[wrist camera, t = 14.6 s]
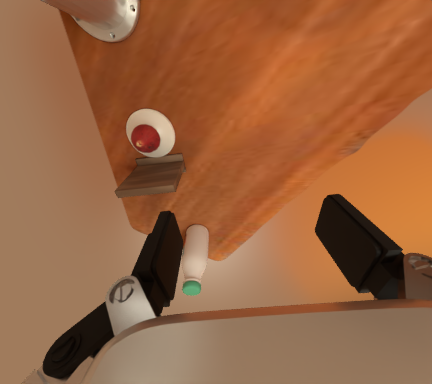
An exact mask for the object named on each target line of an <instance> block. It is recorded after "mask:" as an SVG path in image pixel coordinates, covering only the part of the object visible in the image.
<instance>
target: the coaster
mask: <svg viewBox="0 0 432 384" xmlns="http://www.w3.org/2000/svg"><path fill="white" fill-rule="evenodd" d="M141 124H147V125H150V126H152V127H153V128H155V129H156V130H157V132H158V133H159V136H160V139H161V140H160V146H159V147H158V148H157V150H155V151H153V152H151V153H143V152H141V151H139V150H137V149H136V148H135V147H134V146H133V147H134V148H135V149H136V150H137V151H139V152H140V153H142V154H143V155H146V156H149V157H162V156H164V155H166V154H168V153H169V152H170V151H171V149H172V148H173V146H174V143H175V131H174V128H173V125H172V124H171V122H170V121H169V119H168V118H167V117H166V116H165V115H164V114H162V113H161V112H159V111H157V110H154V109H141V110H138V111H136V112H134V113H133V114H132V115H131V116H130V117H129V119H128V121H127V125H126V132H127V136H128V139H129V141H130V143H131V144H132V141H131V133H132V131H133V129H134V128H135V127H136V126H138V125H141ZM132 145H133V144H132Z"/></svg>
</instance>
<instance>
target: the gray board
mask: <svg viewBox="0 0 432 384" xmlns="http://www.w3.org/2000/svg"><path fill="white" fill-rule="evenodd" d="M135 160H136V163H137V165H138V166H137V167H136V168H135V169H134V170H133V172H132V173H131V174H130V175H129V176H128V177H127V178H126V179H125V180H124V182H123V183H122V184H121V185H120V186H119V187H118V188H117V189H116V190H115V193H116V195H117V197H118V198H122V197H131V196H141V195H150V194H160V193H169V192H176V189H177V186H178V183H179V181H180V178H181V175H182V172H186V168H185V164H184V160H183V155H182V153H179V154H171V155H164V156H162V157H145V158H137V159H135Z"/></svg>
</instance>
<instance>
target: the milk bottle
mask: <svg viewBox="0 0 432 384" xmlns="http://www.w3.org/2000/svg"><path fill="white" fill-rule="evenodd" d="M208 237H209V233H208V230H207V228H206V227H205V226H203V225H199V224H195V225H192V226H190V227H189V228H188V229H187V231H186V236H185V242H184V247H183V253H182V269H183V272H184V276H185V281H184V282H183V289H182V290H183V293H185V294H186V295H197V294H199V293H200V291H201V282H200V280H201V277H202V274H203V272H204V271H205V268H206V266H207V260H208Z"/></svg>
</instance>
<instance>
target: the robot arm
mask: <svg viewBox="0 0 432 384" xmlns="http://www.w3.org/2000/svg"><path fill="white" fill-rule="evenodd" d="M41 1H43V2H45V3H47V4H49V5H51V6H53V7H56V8H58V9H60V10H62V11H64V12H66V13H68V14H70V15H71V16H72V18H73V19H74V20H75V21H76V22H77V24H78V25H79V26H80V27H81V28H83V29H84V30H85V31H86V32H87V33H89V34H90V35H92V36H93V37H95V38H98V39H100V40H103V41H106V42H120V41H122V40H125V39H126V38H127V37H129V36H130V35H131V33H132V32H133V31H134V29H135V27H136V25H137V22H138V18H139V12H140V0H41ZM133 9H135V12H134V11H133ZM80 19H81V20H80ZM114 35H115V38H114ZM315 232H316V235H317V236H318V238H319V239H320V241H321V242H322V243H323V245H324V247H325V248H326V249H327V251H328V253H329V254H330V255H331V257H332V258H333V260H334V261H335V263H336V264H337V266H338V267H339V269H340V270H341V272H342V273H343V275H344V276H345V277H346V279H347V280H348V282H349V283H350V285H351V286H353V287H355V288H356V290H357V291H358V293H369V292H371V293H372V294H373V295H374V300H367V301H351V302H335V303H320V304H304V305H290V306H274V307H260V308H246V309H232V310H219V311H206V312H195V313H184V314H174V315H167V316H161V315H160V314H161V313H162V310H163V307H169V306H170V300H173V298H174V294H175V289H176V283H177V277H178V272H179V267H180V261H181V256H182V250H183V239H182V236H181V233H180V230H179V227H178V224H177V221H176V218H175V215H174V213H171V211H163V212H160V214H159V216H158V219H157V221H156V224H155V226H154V229H153V231H152V233H150V234H149V235H148V236H147V238H146V241H145V243H144V246H143V248H142V250H141V253H140V255H139V257H138V260H137V262H136V265H135V267H134V269H133V271H132V274H131V276H125V277H123V278H121V279H119V280H118V281H116V282H115V283H114V284H113V285H112V286H111V287H110V289H109V290H108V292H107V295H106V301H105V302H104V303H103V304H101V305H100V306H99V307H97V308H96V309H95V310H93V311H92V312H91V313H90V314H88V315H87V316H86V317H84V318H83V319H82V320H81V321H79V322H78V323H77V324H75V325H74V326H73V327H72V328H70V329H69V330H68V331H66V332H65V333H64V334H63V335H62V336H61V337H59V338H58V339H57V340H56V341H55V342H54V344H53V345H52V346H51V347H50V349H49V351H48V352H47V354H46V356H45V359H44V361H43V365H42V366H41V367H40V368H39V369H38V370H34V371H33V372H32V373H31V374H30V375H29V376H28V377H27V378H26V379H25V380H24V381H23V382H22V383H21V384H432V258H431V257H429V256H426V255H423V254H419V253H408V254H406V255H404V254H403V253H402V252H401V251H402V250H403V249H402V248H401V247H399V246H398V245H397V244H396V243H395V242H394V241H393V240H391V239H390V238H389V237H388V236H387V235H386V234H385V233H384V232H382V231H381V230H380V229H379V228H378V227H377V226H376V225H374V224H373V223H372V222H371V221H370V220H368V219H367V218H366V217H365V216H364V215H363V214H362V213H361V212H360V211H359V210H357V209H356V208H355V207H354V206H353V205H352V204H351V203H349V202H348V201H347V200H346V199H345V198H344V197H343V196H341V195H340V194H333V195H328V196H327V197H326V198H325V199H324V201H323V204H322V207H321V211H320V214H319V217H318V221H317V224H316V227H315Z"/></svg>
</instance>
